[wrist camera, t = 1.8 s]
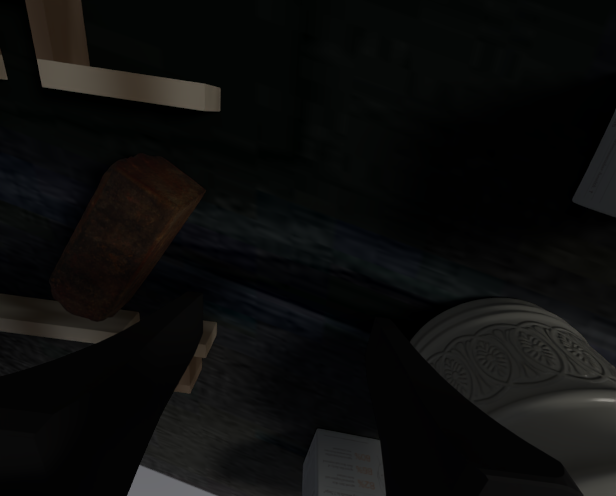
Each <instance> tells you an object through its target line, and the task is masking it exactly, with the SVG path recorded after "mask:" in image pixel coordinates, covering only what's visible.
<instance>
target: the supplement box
mask: <svg viewBox="0 0 616 496" xmlns="http://www.w3.org/2000/svg"><path fill="white" fill-rule="evenodd" d="M572 201H573V202H574V203H576V204H579V205H581V206H584V207H587V208H589V209H592V210H595V211H598V212H601V213H604V214H607V215H610V216H613V217H616V109H615V112H614V114H613V116H612V118H611V121H610V123H609V125H608V127H607V129H606V131H605V134H604V136H603V138H602V140H601V142H600V144H599V146H598V148H597V150H596V152H595V155H594V157H593V159H592V160H591V162H590V165H589V167H588V169H587V171H586V173H585V175H584V177H583V179H582V181H581V183H580V185H579V187H578V189H577V191H576V193H575V195H574V196H573V199H572Z"/></svg>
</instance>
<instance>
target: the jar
mask: <svg viewBox="0 0 616 496" xmlns="http://www.w3.org/2000/svg"><path fill="white" fill-rule="evenodd" d="M410 343H411V344H412V345H413V347H414V348H415V349H416V350H417V351H418V352H419V353H420V354H421V356H422V357H423V358H424V359H425V360H426V361H427V362H428V363H429V364H430V365H431V366H432V367H433V368H434V369H435V370H436V371H437V372H438V373H439V374H440V375H441V376H442V377H443V378H444V379H445V380H446V381H447V382H448V383H449V384H450V385H452V386H453V387H454V388H455V389H456V390H457V391H458V392H459V393H461V394H462V395H463V396H464V397H465V398H467V399H468V400H469V401H470V402H472V403H473V404H474V405H475V406H477V407H478V408H479V409H481V410H482V411H483V412H484V413H486V414H487V415H488V416H490V417H491V418H493V419H494V420H495V421H497V422H498V423H500V424H501V425H502V426H504V427H505V428H507V429H508V430H510V431H511V432H513V433H514V434H516V435H517V436H519V437H520V438H522V439H523V440H525V441H527V442H528V443H530V444H532V445H533V446H535V447H537V448H538V449H540V450H542V451H543V452H545V453H546V454H548V455H550V456H551V457H553V458H555V459H556V460H558V461H560V462H561V463H562V465H563V466H564V467H565V469H566V470H567V472H568V473H569V475H570V476H571V478H572V479H573V481H574V482H575V483H576V485H577V486H578V488H579V489H580V491H581V492H582V494H583V495H584V496H616V368H615V367H614V366H613V365H611V364H610V363H609V362H608V361H607V360H606V359H605V358H603V357H602V356H601V355H600V354H599V353H598V352H596V351H595V350H594V349H593V348H592V347H591V346H589V344H588V343H587V341H586V340H585V339H584V337H583V336H582V335H581V334H580V333H579V332H578V331H577V330H575V329H574V328H573V327H571V326H570V325H569V324H568V323H567V322H566V321H564V320H563V319H561V318H560V317H558V316H556V315H555V314H553V313H551V312H548V311H546V310H545V309H543V308H541V307H539V306H537V305H535V304H533V303H530V302H527V301H523V300H518V299H512V298H486V299H479V300H474V301H470V302H466V303H463V304H460V305H458V306H455V307H453V308H450V309H448V310H446V311H444V312H442V313H441V314H439V315H437V316H436V317H434V318H433V319H431V320H430V321H429V322H427V323H426V324H425V325H424V326H423V327H422V328H421V329H420V330H419V331H418V332H417V333H416V334H415V335H414V337H413V338H412V339H411V341H410Z"/></svg>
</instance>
